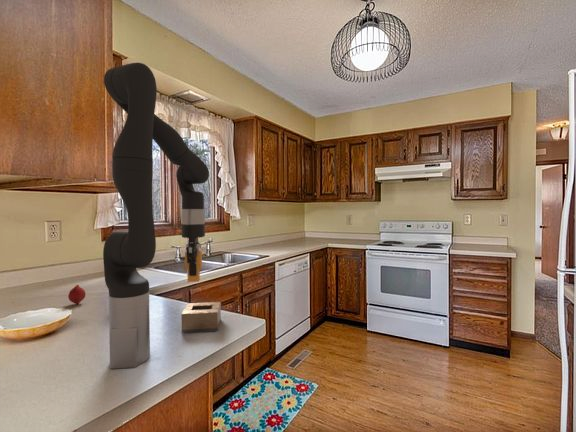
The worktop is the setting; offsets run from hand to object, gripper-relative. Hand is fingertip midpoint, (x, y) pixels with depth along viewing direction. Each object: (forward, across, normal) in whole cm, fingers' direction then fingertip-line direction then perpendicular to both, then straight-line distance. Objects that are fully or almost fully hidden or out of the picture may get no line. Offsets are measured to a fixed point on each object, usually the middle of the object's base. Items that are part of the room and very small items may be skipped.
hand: (193, 274), depth 102 cm
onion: (+17, +32, +51) cm, 63 cm away
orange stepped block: (+2, 0, 0) cm, 2 cm away
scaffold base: (+17, -1, -3) cm, 17 cm away
